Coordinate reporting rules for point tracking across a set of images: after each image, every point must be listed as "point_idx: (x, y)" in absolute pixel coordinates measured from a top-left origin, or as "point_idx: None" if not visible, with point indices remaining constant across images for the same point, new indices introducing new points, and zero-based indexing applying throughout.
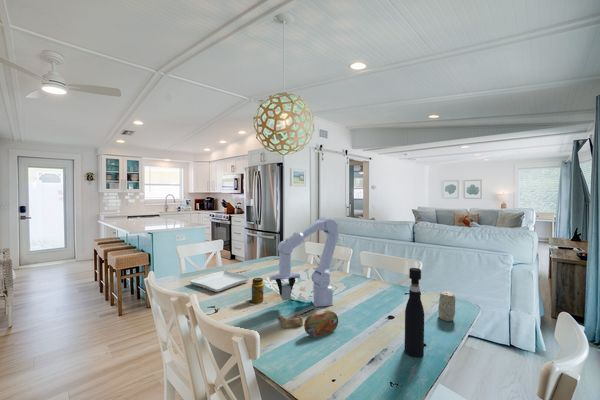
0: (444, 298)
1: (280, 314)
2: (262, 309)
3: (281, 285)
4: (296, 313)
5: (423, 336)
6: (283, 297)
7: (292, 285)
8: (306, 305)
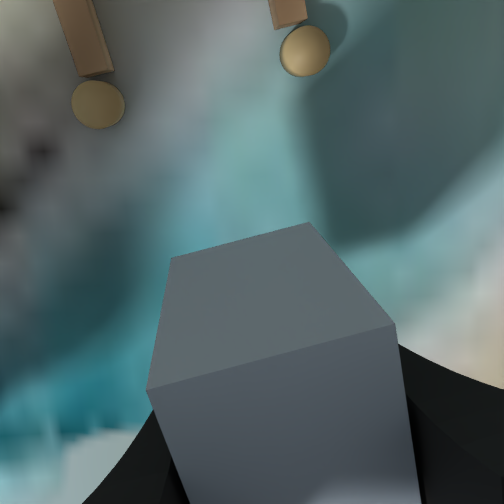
0: None
1: (303, 61)
2: (492, 263)
3: (434, 424)
4: (92, 91)
5: None
6: (303, 240)
7: (106, 495)
8: (18, 382)
